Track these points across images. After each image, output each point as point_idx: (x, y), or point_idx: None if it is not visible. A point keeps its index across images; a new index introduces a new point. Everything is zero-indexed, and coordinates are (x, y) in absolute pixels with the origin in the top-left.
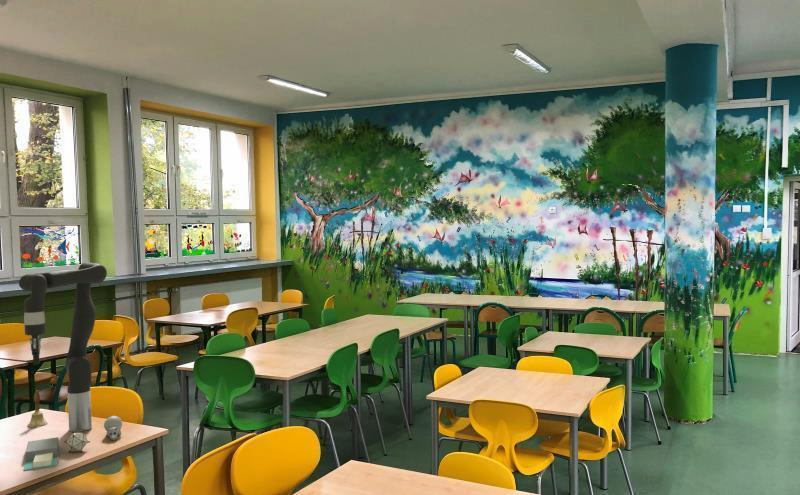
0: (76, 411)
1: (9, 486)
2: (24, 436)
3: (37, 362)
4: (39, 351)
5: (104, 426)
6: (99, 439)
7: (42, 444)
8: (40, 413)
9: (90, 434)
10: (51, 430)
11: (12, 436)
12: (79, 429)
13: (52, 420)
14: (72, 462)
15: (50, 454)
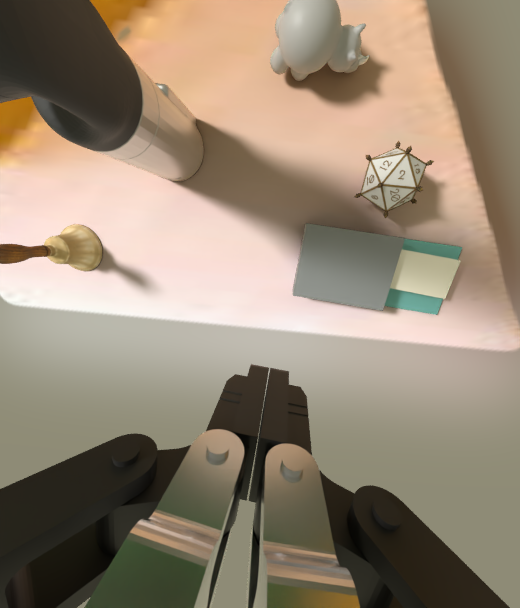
0: (177, 143)
1: (516, 347)
2: (167, 285)
3: (303, 400)
4: (205, 478)
5: (311, 70)
6: (313, 109)
7: (346, 268)
8: (62, 242)
9: (246, 128)
10: (149, 223)
11: (153, 307)
12: (201, 153)
13: (58, 210)
14: (466, 208)
15: (412, 255)
